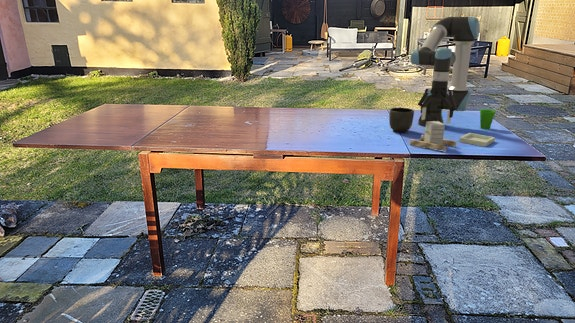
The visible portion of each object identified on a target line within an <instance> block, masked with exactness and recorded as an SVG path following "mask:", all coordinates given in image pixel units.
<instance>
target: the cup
mask: <svg viewBox="0 0 575 323" xmlns="http://www.w3.org/2000/svg"><path fill="white" fill-rule="evenodd" d="M496 113H497V111H496V110H493V109H485V108H484V109H479V114H480V115H479V116H480V117H479V118H480V119H479V120H480V121H479V123H480V129H482V130H486V131H488V130H490V129H491V125H492V124H493V120H494V117H495V114H496Z"/></svg>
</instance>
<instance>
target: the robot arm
mask: <svg viewBox="0 0 575 323" xmlns="http://www.w3.org/2000/svg"><path fill="white" fill-rule="evenodd" d="M479 36H480V21H479V19H478V17H476V16H447V17H444V18H442V19H440V20H439V21H437V22H436V23H434V24H433V25H432V27H431V28H430V32H429V34H428V36H427V37H426V39H425V40H424V43H423V44H422V45H421V47H420V48H419V49H417V50H415V49H414V50H412V51H411V54H410V63H411V65H414V66H415V65H416V66H430V67H431V66H432V67H433V71H432V72H433V73H432V81H431V87H428V88H425V89H424V92H423V95H422V97H421V98H420V100H418V103H417V106H419V107H420V116H419V118H418V119H417V120H418V121H417V122H418V124H417V125H419V126H422V127H426V122H428V121H439V122H441V123H443V124H444V117H443V114H442V112H443V110H446V111H447V118H446V124H445V125H449V124H450V123H451V119H452V118H453V117H454V112H455V111H456V112H464V111H466V110H467V108H468V107H469V106H468V105H469V104H470V99H471V96H472V93H471V92H470V91H469V88H468V87H467V81H468V74H469V67H470V66H469V65H470V59H471V52H472V45H473V44H474V43H475V42H476V39H478V38H479ZM446 38H450V39H453V41H452V42H454V44H455V46H454V51H452V48H447V47H445V48H440V47H439V45H440V44H441V42H442V41H443V40H444V39H446ZM451 66H452V71H451V72H452V73H451V74H452V75H451V82H450V86H448V85H449V81H448V80H449V76H450V68H451Z"/></svg>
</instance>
